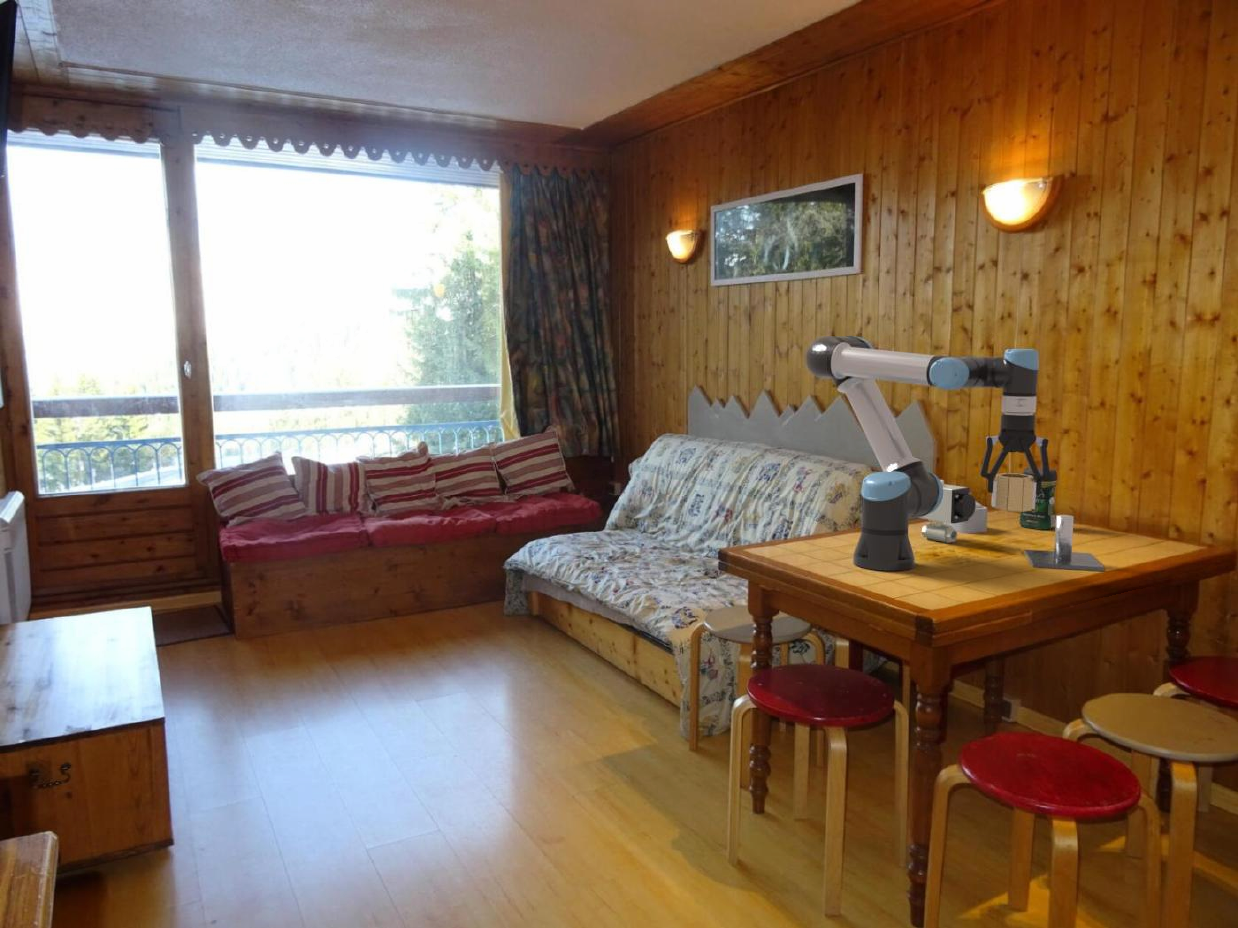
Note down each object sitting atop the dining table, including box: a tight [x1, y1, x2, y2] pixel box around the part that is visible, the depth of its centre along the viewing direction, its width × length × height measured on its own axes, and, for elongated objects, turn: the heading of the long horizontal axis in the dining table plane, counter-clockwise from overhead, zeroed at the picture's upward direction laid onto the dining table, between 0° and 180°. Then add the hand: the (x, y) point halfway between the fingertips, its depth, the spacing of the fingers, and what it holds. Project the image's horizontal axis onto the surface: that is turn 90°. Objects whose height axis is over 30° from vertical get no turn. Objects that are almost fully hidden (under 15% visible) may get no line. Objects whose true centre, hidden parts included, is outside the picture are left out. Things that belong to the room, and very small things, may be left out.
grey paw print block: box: [944, 500, 988, 534], centre depth 272 cm, size 10×13×9 cm
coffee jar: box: [1019, 467, 1058, 530], centre depth 272 cm, size 10×8×19 cm
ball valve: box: [916, 479, 976, 544], centre depth 255 cm, size 18×8×18 cm, turn 36°
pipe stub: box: [1024, 514, 1105, 572], centre depth 228 cm, size 16×16×12 cm
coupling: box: [994, 472, 1034, 513], centre depth 215 cm, size 8×8×8 cm
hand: (1012, 507), depth 215 cm, fingers closed on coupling, 8 cm apart
